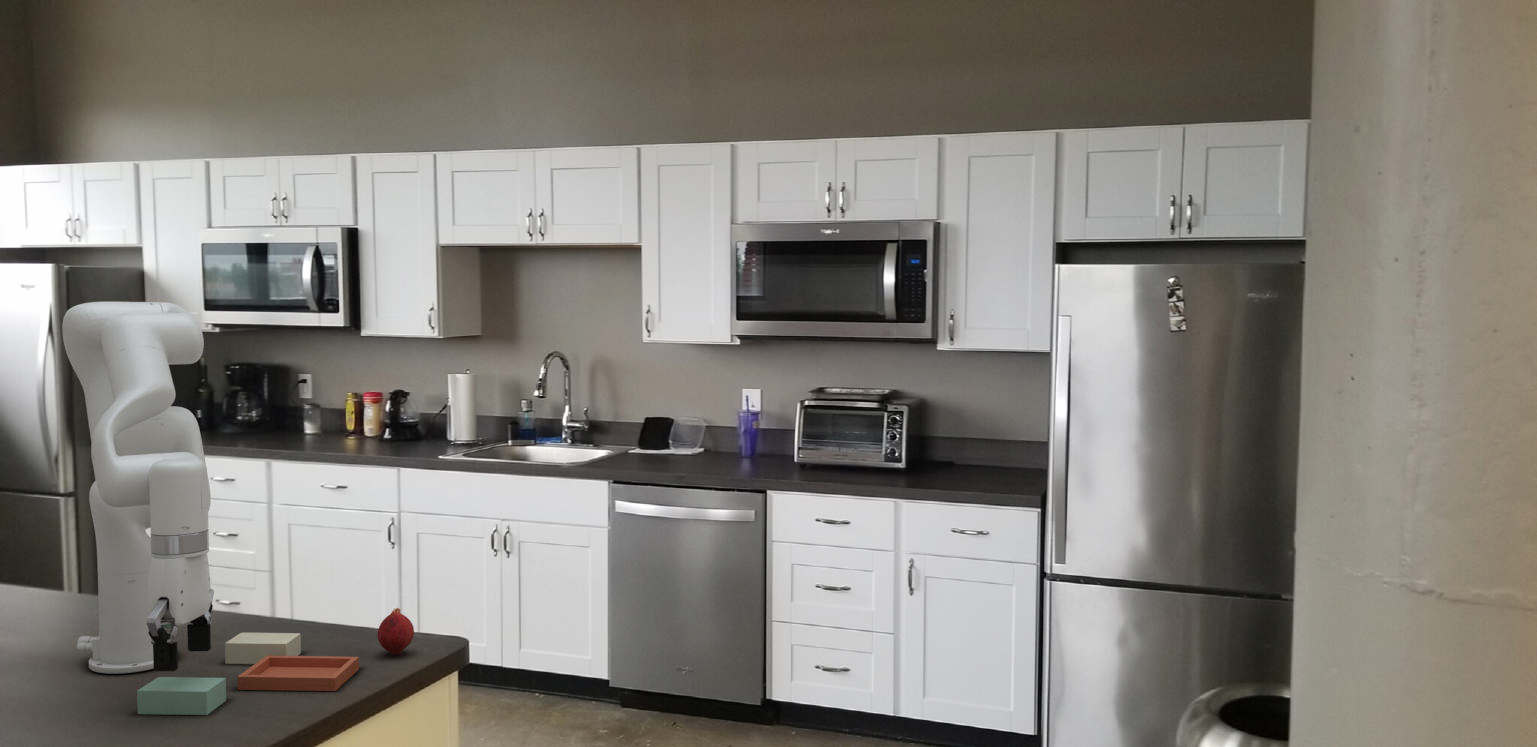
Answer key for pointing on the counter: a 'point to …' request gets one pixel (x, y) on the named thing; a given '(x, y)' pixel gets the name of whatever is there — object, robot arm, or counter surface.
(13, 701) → the counter surface
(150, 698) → the pad base
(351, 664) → the holder
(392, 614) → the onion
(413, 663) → the counter surface
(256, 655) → the pad top
